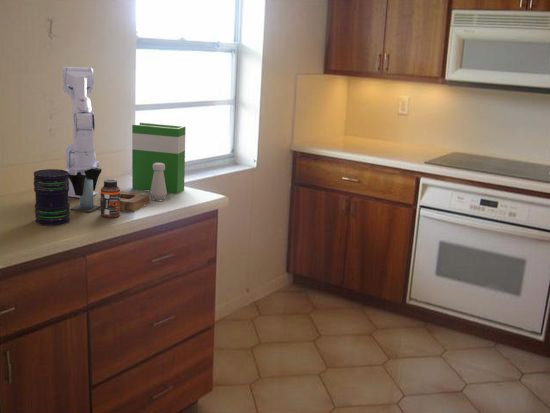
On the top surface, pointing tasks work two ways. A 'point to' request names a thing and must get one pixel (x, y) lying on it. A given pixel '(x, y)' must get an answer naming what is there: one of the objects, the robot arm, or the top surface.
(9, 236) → the top surface
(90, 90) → the robot arm
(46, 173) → the storage jar
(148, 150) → the green cereal box
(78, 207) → the mat
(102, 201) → the supplement bottle
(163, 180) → the salt shaker
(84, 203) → the peg
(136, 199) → the holder
